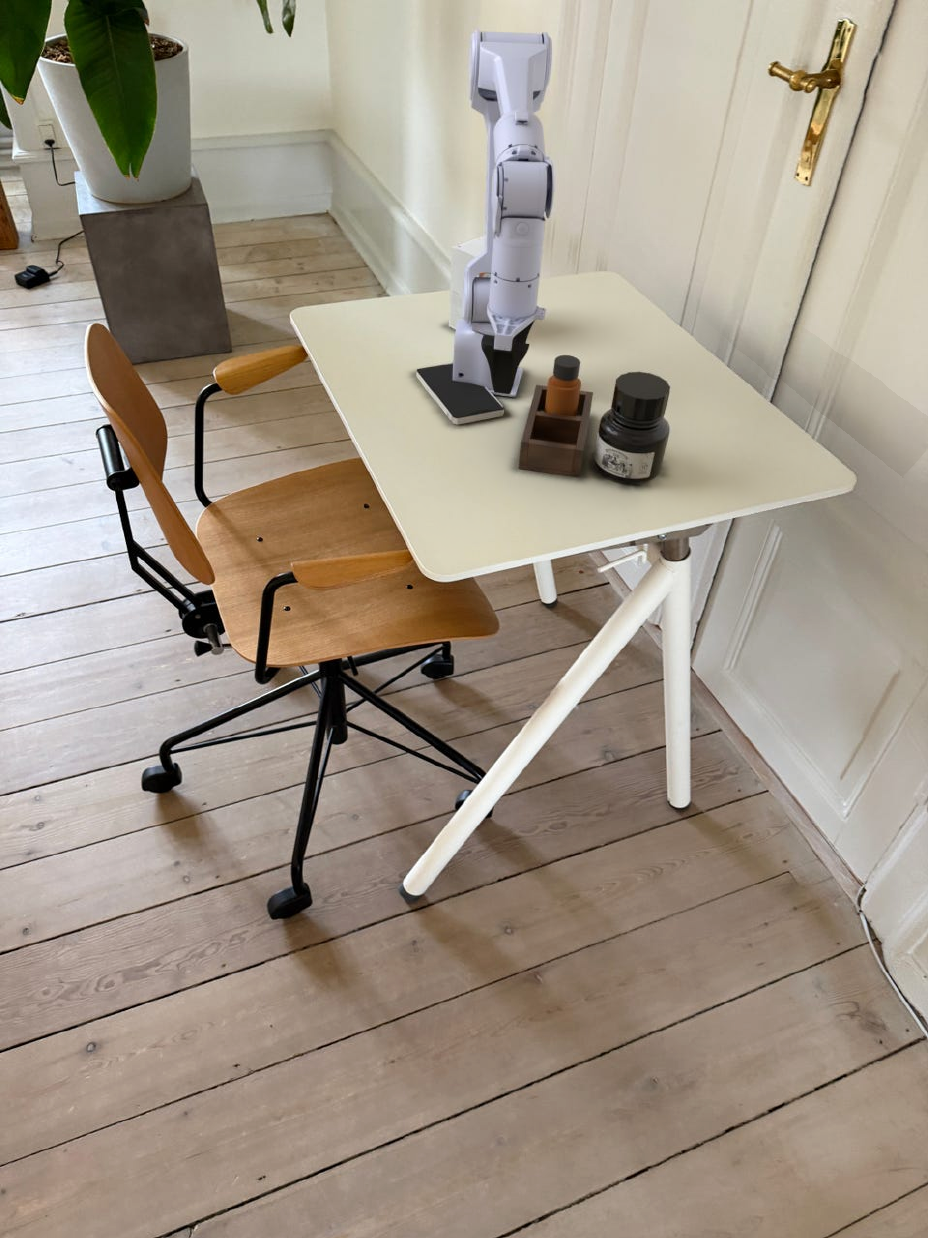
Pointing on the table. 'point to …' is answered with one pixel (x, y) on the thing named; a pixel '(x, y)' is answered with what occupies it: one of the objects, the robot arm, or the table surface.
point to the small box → (462, 275)
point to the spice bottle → (564, 386)
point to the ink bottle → (634, 429)
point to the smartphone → (459, 395)
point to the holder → (554, 436)
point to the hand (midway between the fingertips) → (506, 376)
